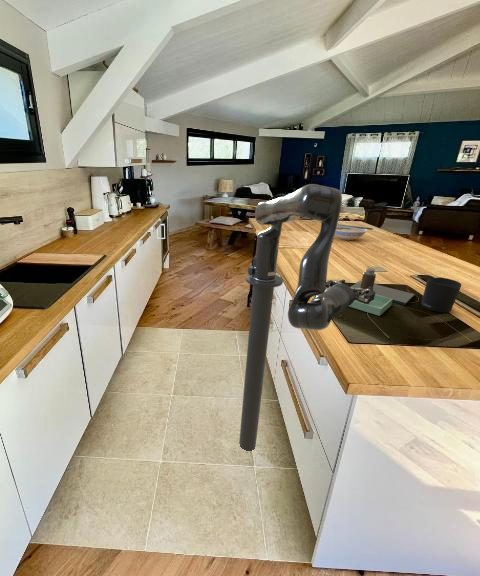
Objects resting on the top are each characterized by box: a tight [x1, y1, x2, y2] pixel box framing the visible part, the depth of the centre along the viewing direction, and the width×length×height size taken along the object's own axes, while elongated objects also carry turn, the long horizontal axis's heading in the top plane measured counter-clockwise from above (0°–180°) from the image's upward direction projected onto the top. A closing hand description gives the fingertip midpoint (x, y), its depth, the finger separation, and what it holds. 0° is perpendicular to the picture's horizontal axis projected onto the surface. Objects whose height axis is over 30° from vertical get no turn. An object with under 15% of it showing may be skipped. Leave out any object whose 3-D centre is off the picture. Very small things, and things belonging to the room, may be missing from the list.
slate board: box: [350, 280, 415, 306], centre depth 123 cm, size 20×12×1 cm, turn 43°
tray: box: [348, 291, 393, 317], centre depth 114 cm, size 15×12×3 cm
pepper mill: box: [357, 268, 377, 304], centre depth 111 cm, size 4×4×13 cm
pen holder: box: [421, 276, 462, 314], centre depth 110 cm, size 9×9×10 cm
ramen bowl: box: [334, 223, 374, 241], centre depth 209 cm, size 25×23×8 cm
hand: (356, 285), depth 103 cm, fingers open, 8 cm apart
